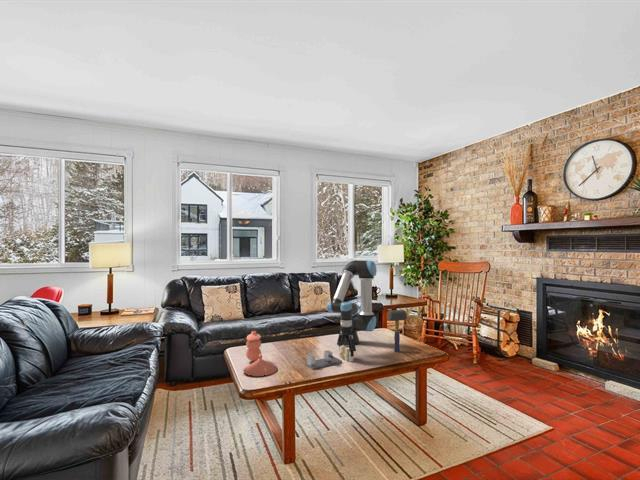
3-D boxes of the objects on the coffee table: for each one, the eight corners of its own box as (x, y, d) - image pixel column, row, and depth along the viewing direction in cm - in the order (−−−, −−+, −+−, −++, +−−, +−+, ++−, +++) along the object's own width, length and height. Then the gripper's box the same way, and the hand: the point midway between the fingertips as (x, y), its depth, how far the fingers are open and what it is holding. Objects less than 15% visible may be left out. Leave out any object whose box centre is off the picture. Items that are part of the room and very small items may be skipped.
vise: (305, 364, 222) (305, 353, 222) (333, 358, 234) (333, 348, 234) (313, 369, 214) (313, 358, 214) (342, 362, 225) (342, 352, 225)
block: (339, 357, 235) (339, 346, 235) (345, 356, 238) (345, 345, 238) (346, 361, 229) (346, 349, 229) (352, 360, 231) (352, 348, 231)
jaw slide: (324, 359, 227) (324, 350, 227) (328, 358, 229) (328, 350, 229) (331, 363, 220) (331, 354, 220) (334, 362, 222) (334, 353, 222)
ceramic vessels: (281, 372, 209) (281, 341, 209) (246, 378, 201) (246, 345, 201) (267, 355, 241) (267, 328, 241) (236, 359, 233) (236, 331, 233)
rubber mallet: (402, 349, 252) (402, 308, 253) (407, 353, 245) (407, 310, 245) (386, 351, 249) (386, 309, 250) (391, 354, 242) (391, 311, 242)
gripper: (331, 323, 241) (331, 354, 241) (352, 330, 222) (352, 364, 221) (340, 321, 245) (340, 352, 245) (361, 328, 226) (361, 362, 225)
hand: (346, 358), depth 233 cm, fingers open, 11 cm apart
